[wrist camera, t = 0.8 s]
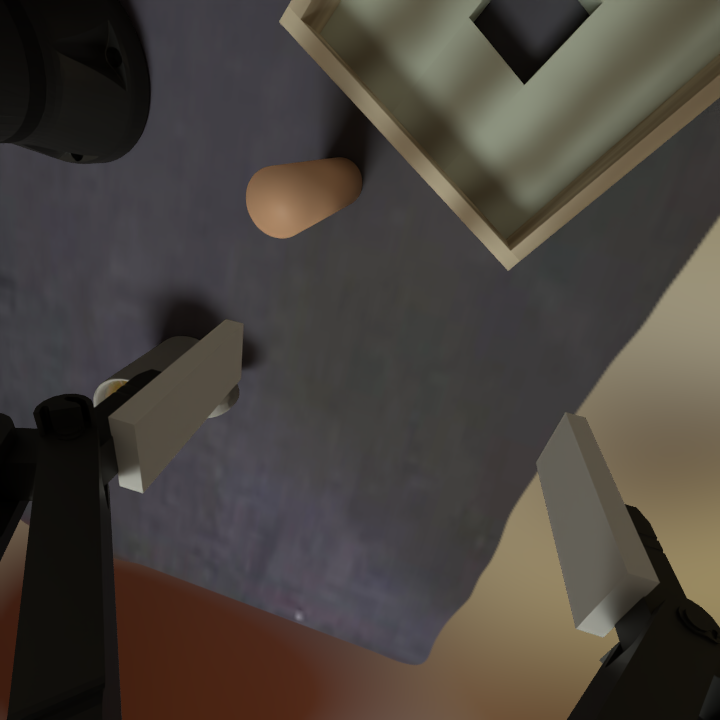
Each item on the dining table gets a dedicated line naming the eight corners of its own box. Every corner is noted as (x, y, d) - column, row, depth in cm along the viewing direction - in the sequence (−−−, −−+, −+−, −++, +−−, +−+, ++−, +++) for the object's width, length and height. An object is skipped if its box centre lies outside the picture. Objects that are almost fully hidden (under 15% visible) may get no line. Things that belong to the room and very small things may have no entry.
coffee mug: (163, 398, 53) (105, 447, 45) (150, 329, 48) (82, 369, 40) (258, 418, 51) (217, 475, 43) (255, 349, 46) (208, 396, 38)
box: (314, 44, 32) (279, 21, 26) (571, -360, 21) (614, -559, 15) (500, 248, 36) (508, 270, 30) (797, -6, 25) (902, -53, 19)
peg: (309, 183, 37) (233, 204, 25) (338, 146, 35) (270, 149, 23) (342, 216, 37) (283, 251, 25) (371, 181, 35) (323, 202, 23)
